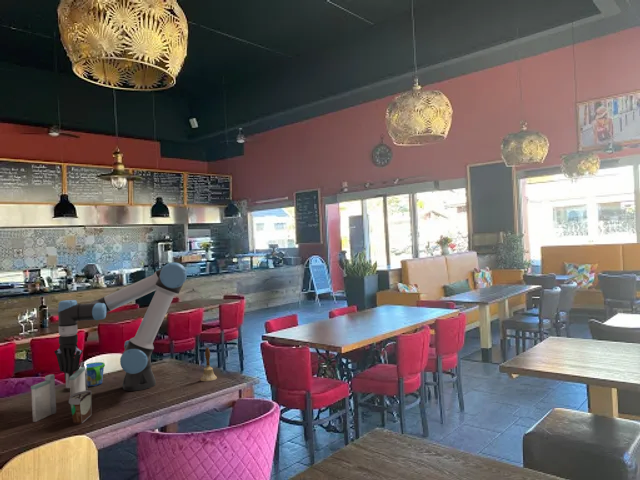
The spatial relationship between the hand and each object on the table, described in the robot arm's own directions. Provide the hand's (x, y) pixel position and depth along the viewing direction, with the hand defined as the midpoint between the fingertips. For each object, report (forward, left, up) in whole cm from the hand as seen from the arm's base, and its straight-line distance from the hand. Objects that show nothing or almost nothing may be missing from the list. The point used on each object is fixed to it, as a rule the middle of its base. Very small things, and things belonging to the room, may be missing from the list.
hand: (69, 387), depth 213 cm
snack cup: (+7, -27, -7) cm, 29 cm away
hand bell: (-51, -36, -7) cm, 63 cm away
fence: (-2, +7, -7) cm, 10 cm away
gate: (-6, +2, -6) cm, 8 cm away
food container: (-20, +20, -7) cm, 29 cm away
